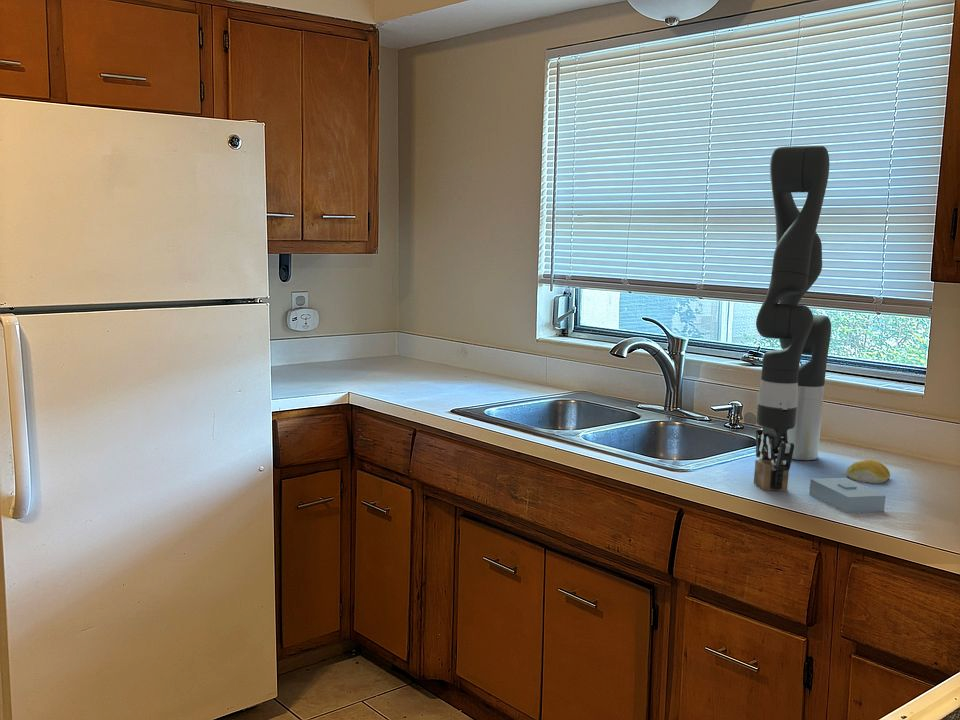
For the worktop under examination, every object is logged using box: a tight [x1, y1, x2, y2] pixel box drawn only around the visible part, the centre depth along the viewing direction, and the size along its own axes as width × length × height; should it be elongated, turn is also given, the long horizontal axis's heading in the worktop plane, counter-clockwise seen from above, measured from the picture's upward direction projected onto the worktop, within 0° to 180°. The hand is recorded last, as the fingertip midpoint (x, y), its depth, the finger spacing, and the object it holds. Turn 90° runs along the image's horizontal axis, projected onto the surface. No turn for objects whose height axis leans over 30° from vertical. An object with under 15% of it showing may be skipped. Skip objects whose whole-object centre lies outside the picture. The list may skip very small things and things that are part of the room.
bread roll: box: [845, 459, 891, 484], centre depth 191 cm, size 8×9×4 cm
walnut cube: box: [753, 459, 790, 492], centre depth 181 cm, size 5×5×5 cm
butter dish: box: [808, 477, 887, 514], centre depth 172 cm, size 12×8×4 cm, turn 13°
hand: (770, 484), depth 182 cm, fingers closed on walnut cube, 5 cm apart
